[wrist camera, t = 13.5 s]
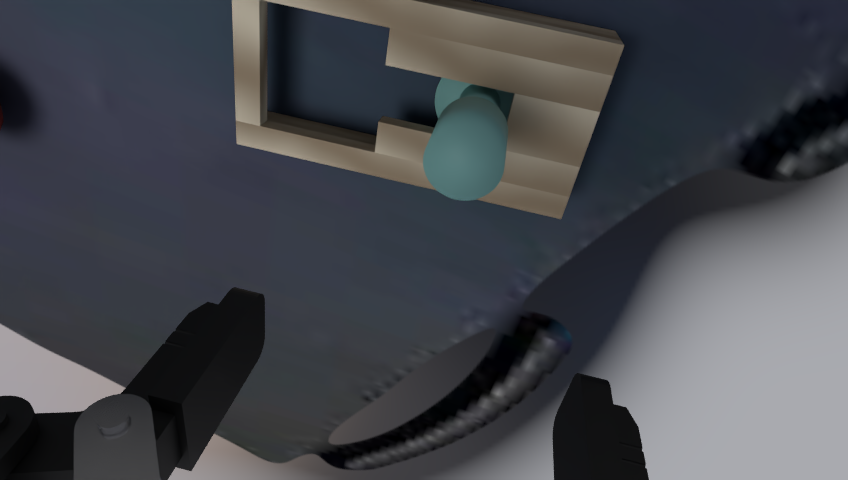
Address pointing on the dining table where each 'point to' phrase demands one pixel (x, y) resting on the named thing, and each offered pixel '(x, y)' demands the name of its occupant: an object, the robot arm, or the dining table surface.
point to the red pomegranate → (1, 117)
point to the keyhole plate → (457, 60)
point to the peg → (467, 140)
